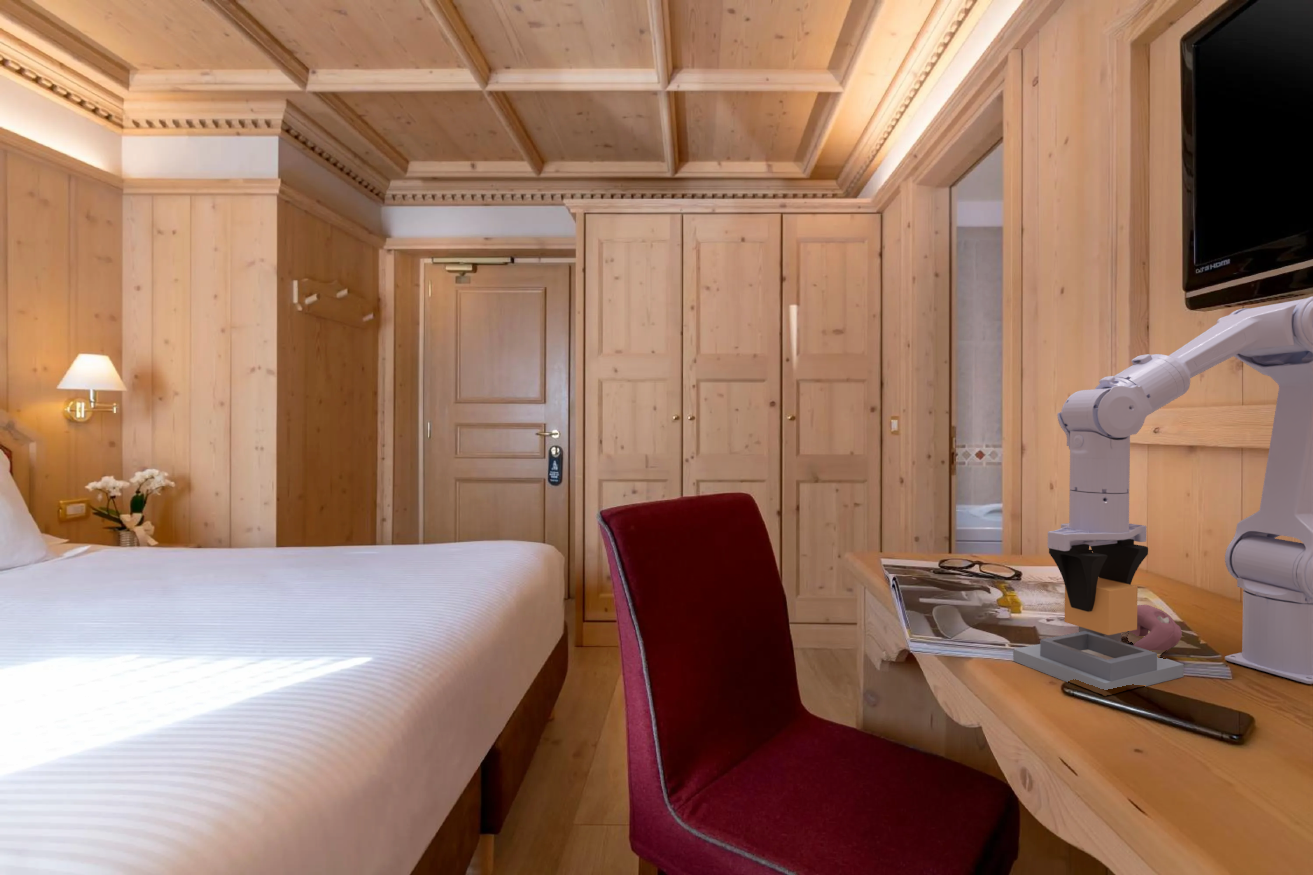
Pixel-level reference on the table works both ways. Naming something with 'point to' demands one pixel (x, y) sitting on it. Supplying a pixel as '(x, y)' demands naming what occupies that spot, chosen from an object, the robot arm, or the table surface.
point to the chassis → (1097, 660)
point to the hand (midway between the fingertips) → (1097, 606)
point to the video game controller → (1156, 629)
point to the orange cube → (1107, 609)
